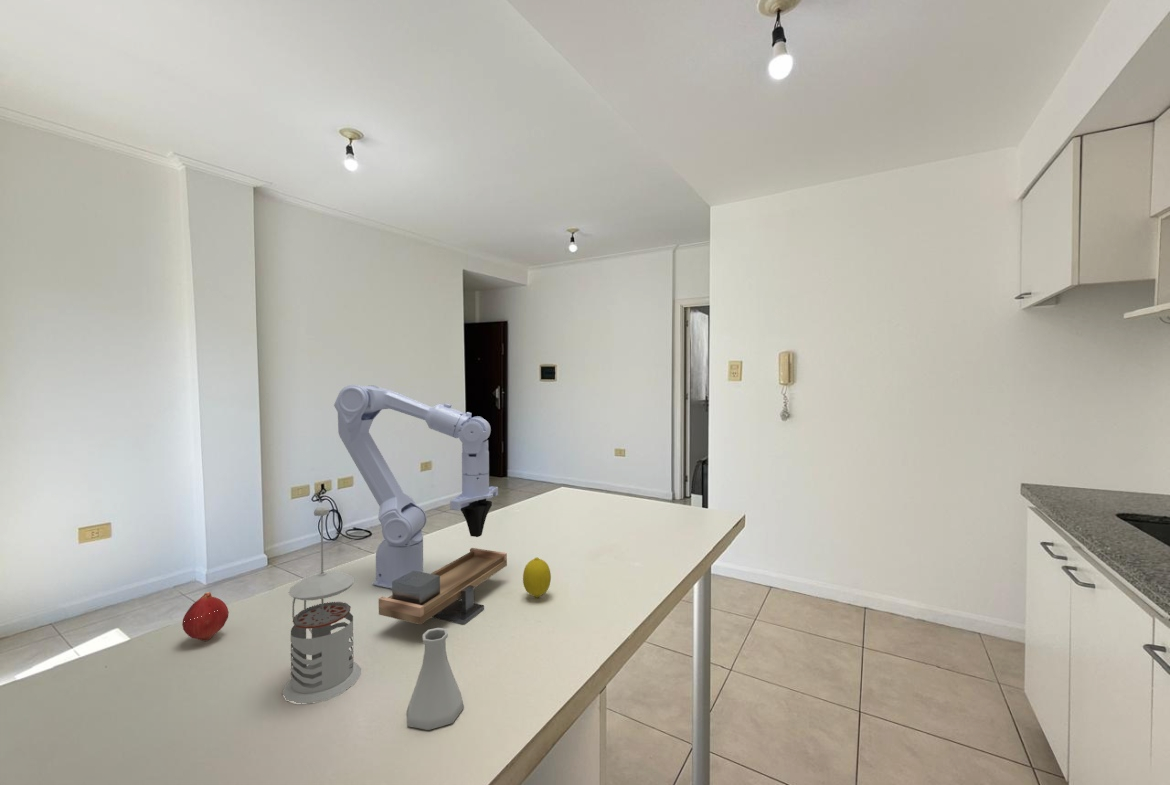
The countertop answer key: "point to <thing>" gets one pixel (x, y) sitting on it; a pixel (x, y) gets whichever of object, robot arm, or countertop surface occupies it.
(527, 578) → the lemon
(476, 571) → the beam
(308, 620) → the french press
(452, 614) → the pivot stand
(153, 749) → the countertop surface
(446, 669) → the flask
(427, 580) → the steel block
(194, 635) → the red pomegranate
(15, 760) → the countertop surface
